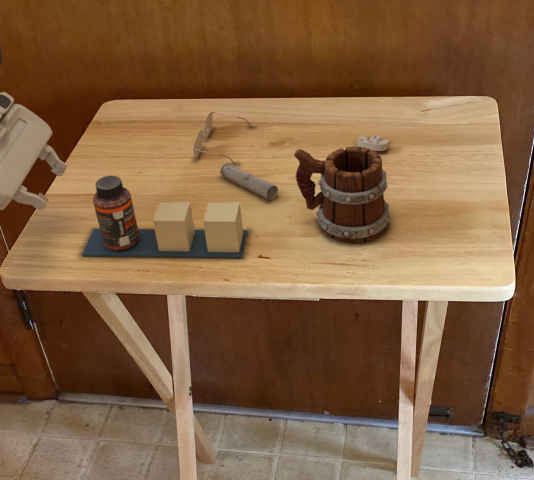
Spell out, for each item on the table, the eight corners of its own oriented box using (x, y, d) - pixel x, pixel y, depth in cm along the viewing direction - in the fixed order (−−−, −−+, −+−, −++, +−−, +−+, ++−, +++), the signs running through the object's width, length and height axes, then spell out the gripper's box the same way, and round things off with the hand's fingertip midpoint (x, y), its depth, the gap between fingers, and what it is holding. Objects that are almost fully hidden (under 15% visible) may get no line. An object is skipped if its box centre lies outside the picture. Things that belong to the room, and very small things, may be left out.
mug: (390, 248, 126) (374, 165, 116) (302, 252, 131) (280, 172, 121) (400, 205, 134) (387, 124, 125) (317, 210, 139) (298, 133, 130)
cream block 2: (207, 252, 129) (203, 221, 124) (213, 233, 132) (208, 202, 128) (239, 252, 128) (235, 221, 124) (243, 233, 132) (239, 202, 127)
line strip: (82, 256, 131) (81, 254, 131) (94, 230, 136) (93, 228, 136) (241, 258, 127) (241, 256, 127) (247, 231, 132) (247, 229, 132)
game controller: (389, 140, 150) (389, 128, 148) (388, 175, 142) (389, 162, 140) (358, 140, 151) (358, 128, 149) (355, 175, 142) (355, 162, 141)
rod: (279, 195, 139) (277, 182, 138) (267, 203, 138) (266, 189, 136) (232, 173, 146) (230, 159, 144) (220, 179, 145) (219, 166, 143)
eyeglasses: (212, 125, 159) (212, 106, 156) (252, 130, 158) (252, 111, 155) (193, 163, 149) (191, 144, 146) (235, 168, 148) (234, 149, 145)
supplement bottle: (137, 251, 130) (123, 192, 122) (100, 253, 130) (84, 193, 123) (143, 229, 134) (130, 170, 127) (107, 230, 135) (92, 172, 127)
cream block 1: (158, 251, 130) (152, 220, 126) (165, 232, 133) (159, 202, 129) (189, 251, 129) (184, 220, 125) (195, 232, 133) (190, 202, 129)
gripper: (-43, 155, 112) (43, 215, 117) (9, 86, 127) (84, 141, 132) (-62, 183, 115) (22, 239, 121) (-9, 113, 130) (64, 165, 135)
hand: (55, 188), depth 126 cm, fingers open, 8 cm apart
